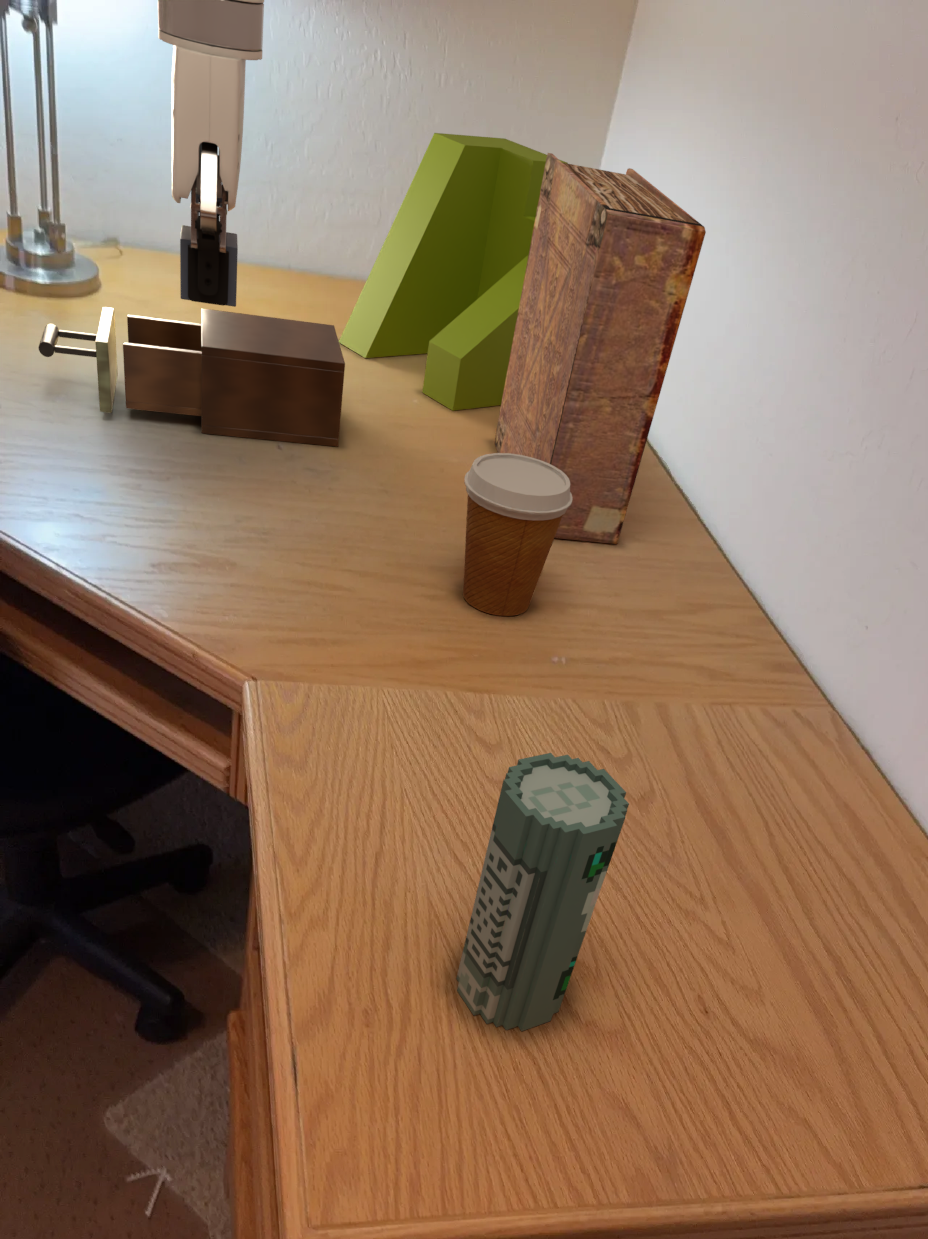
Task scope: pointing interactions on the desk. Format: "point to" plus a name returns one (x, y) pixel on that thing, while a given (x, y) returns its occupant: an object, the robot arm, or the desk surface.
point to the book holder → (454, 268)
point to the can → (538, 887)
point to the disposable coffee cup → (510, 529)
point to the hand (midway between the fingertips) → (208, 289)
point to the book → (596, 335)
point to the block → (232, 274)
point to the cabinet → (270, 378)
